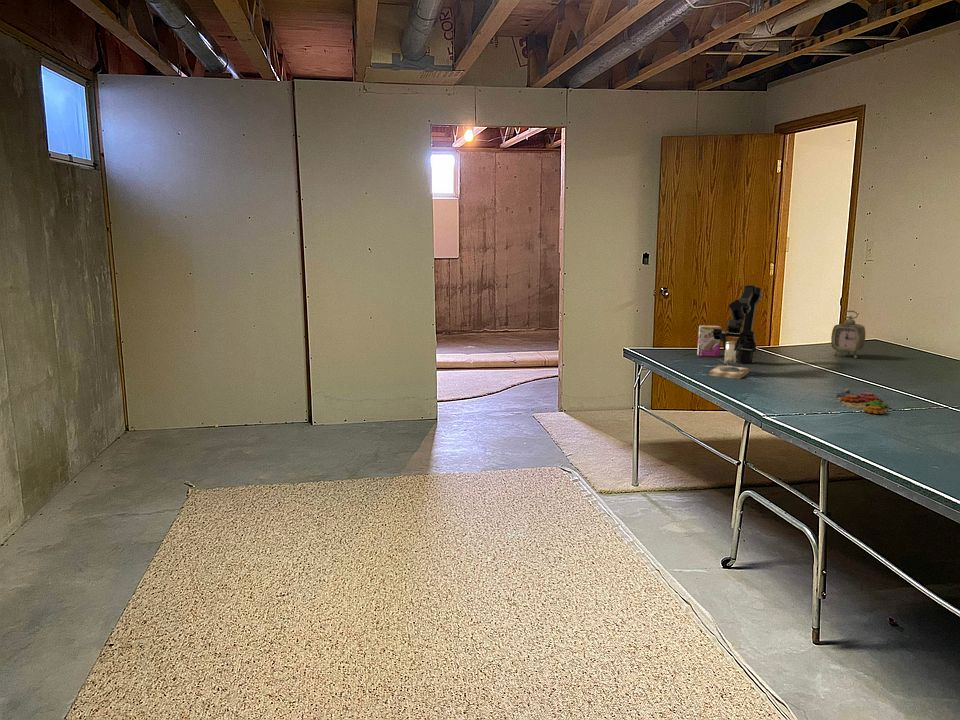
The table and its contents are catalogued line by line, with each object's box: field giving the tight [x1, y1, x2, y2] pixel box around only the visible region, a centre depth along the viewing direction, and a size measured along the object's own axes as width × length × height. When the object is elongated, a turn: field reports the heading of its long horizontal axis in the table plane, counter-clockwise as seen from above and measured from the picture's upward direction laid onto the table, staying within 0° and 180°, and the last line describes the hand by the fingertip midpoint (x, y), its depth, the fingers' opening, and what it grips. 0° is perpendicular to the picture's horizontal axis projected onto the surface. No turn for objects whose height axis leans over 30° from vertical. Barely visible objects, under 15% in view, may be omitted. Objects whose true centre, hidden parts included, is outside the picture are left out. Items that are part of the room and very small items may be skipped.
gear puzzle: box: [833, 388, 890, 415], centre depth 272 cm, size 31×16×4 cm, turn 165°
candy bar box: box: [696, 325, 722, 358], centre depth 377 cm, size 11×5×16 cm, turn 84°
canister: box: [723, 340, 737, 365], centre depth 329 cm, size 5×5×10 cm
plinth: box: [708, 365, 750, 380], centre depth 331 cm, size 14×18×2 cm
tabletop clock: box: [830, 310, 866, 359], centre depth 372 cm, size 14×9×25 cm, turn 43°
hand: (729, 349), depth 328 cm, fingers closed on canister, 5 cm apart
